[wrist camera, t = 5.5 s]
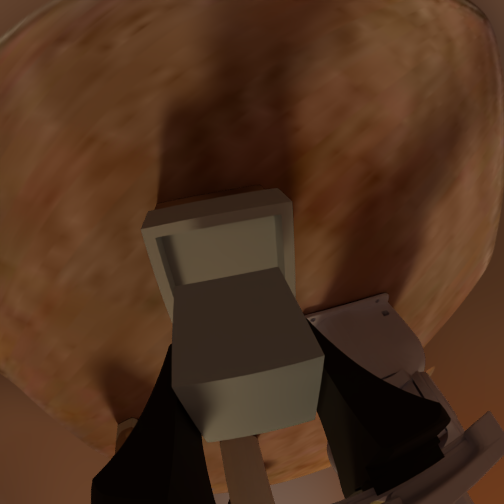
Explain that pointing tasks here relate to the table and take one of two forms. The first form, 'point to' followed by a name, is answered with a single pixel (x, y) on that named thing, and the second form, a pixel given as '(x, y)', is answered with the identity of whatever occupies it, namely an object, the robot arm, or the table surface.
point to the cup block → (220, 239)
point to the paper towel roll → (245, 471)
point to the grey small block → (244, 355)
